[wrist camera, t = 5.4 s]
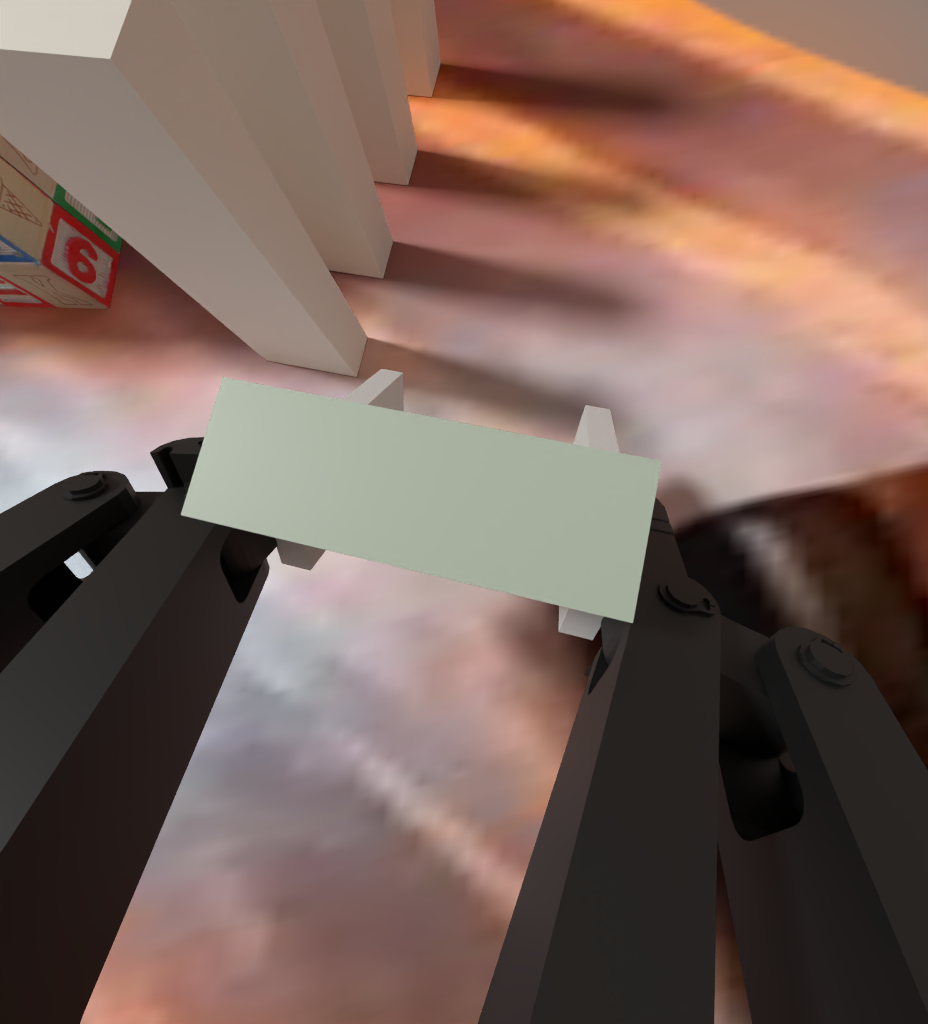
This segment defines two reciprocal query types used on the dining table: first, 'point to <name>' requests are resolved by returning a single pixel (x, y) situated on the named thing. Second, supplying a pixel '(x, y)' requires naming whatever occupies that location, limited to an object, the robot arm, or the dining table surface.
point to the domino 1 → (170, 169)
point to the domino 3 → (373, 83)
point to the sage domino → (429, 495)
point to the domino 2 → (297, 120)
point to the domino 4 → (417, 44)
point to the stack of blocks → (50, 241)
